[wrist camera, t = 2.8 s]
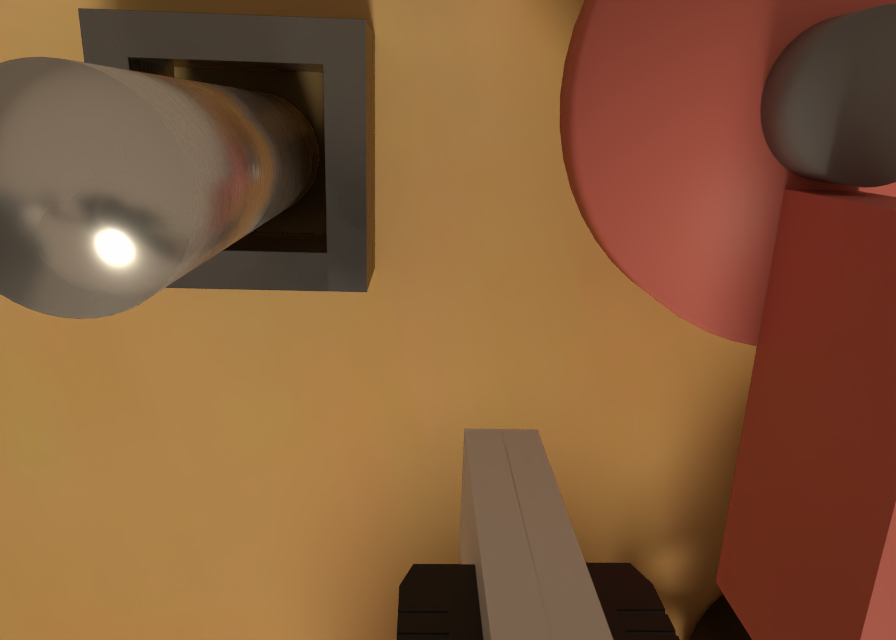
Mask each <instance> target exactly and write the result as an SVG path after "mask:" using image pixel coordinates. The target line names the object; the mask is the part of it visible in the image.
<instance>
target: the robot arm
mask: <svg viewBox="0 0 896 640" xmlns="http://www.w3.org/2000/svg"><path fill="white" fill-rule="evenodd" d="M460 556H461V564H413V566H412V567H411V569H410V570H409V572H408V573H407V575H406V576H405V578H404V580H403V581H402V583H401V584H400V586H399V604H398V622H397V640H680V639H679V637H678V636H676V634H675V629H674V627H673V625H672V623H671V621H670V619H669V617H668V614H665V608H664V606H663V604H662V602H661V600H660V598H659V596H658V594H657V592H656V590H655V588H654V586H653V584H652V583H651V582H650V581H649V580H648V579H646V578H645V577H644V576H643V575H642V574H641V573H640V572H639V571H638V570H637V569H636V568H635V567H634V566H632V565H631V564H630V563H585V560H584V557H583V554H582V552H581V549H580V546H579V543H578V541H577V538H576V535H575V532H574V530H573V527H572V524H571V521H570V518H569V516H568V513H567V510H566V507H565V505H564V502H563V499H562V496H561V494H560V491H559V488H558V485H557V483H556V480H555V477H554V474H553V472H552V469H551V466H550V463H549V460H548V458H547V455H546V452H545V449H544V447H543V444H542V441H541V438H540V436H539V433H538V430H524V429H464V449H463V473H462V497H461V521H460Z"/></svg>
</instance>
